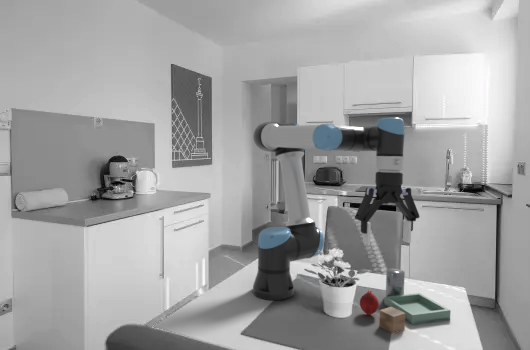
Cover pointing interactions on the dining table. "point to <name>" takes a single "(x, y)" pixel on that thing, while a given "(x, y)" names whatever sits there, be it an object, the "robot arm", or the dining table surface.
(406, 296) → the tray
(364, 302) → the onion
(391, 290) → the metal can
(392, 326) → the walnut block
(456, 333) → the dining table surface
